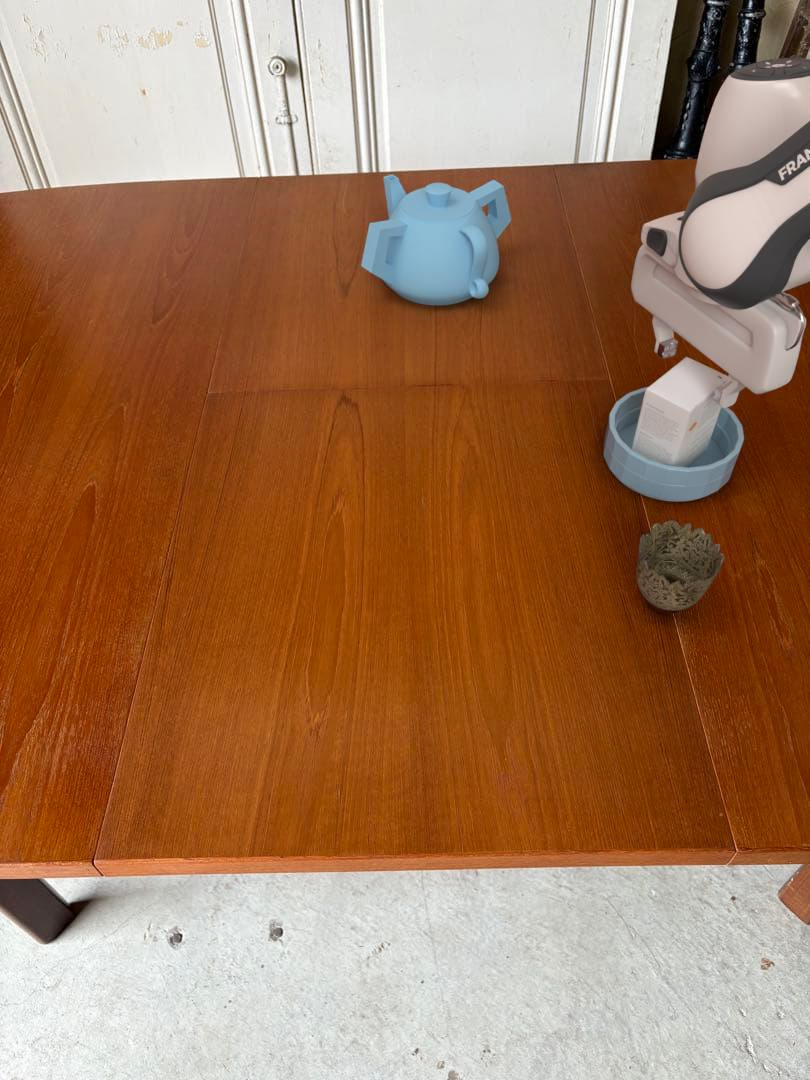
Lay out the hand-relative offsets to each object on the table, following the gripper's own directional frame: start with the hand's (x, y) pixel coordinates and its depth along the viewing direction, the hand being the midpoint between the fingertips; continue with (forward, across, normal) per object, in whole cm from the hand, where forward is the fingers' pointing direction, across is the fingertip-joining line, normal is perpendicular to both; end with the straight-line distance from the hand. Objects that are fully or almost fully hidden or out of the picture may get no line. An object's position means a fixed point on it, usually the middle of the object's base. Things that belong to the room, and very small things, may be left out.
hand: (692, 378), depth 85 cm
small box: (+11, 0, 0) cm, 11 cm away
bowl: (+12, 0, 0) cm, 12 cm away
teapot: (+11, +48, +5) cm, 50 cm away
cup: (+12, -16, +14) cm, 24 cm away
